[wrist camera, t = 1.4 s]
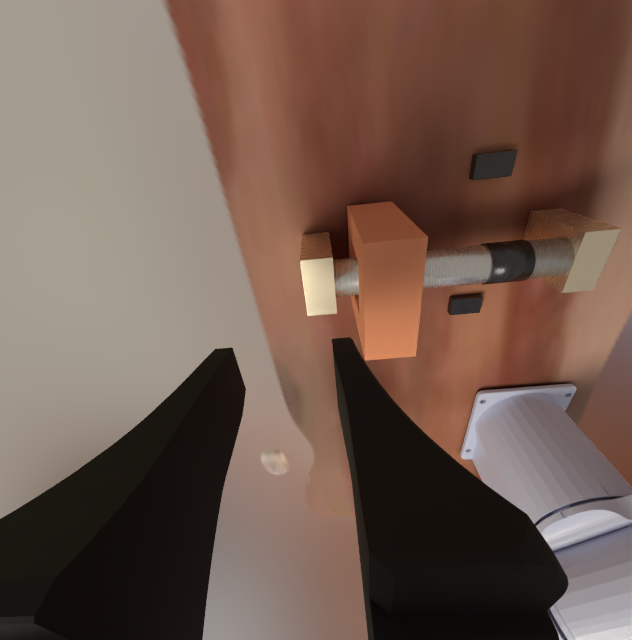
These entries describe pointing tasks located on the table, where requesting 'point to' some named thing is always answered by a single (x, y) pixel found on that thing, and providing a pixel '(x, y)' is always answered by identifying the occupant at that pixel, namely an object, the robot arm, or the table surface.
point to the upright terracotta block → (387, 278)
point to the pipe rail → (479, 254)
